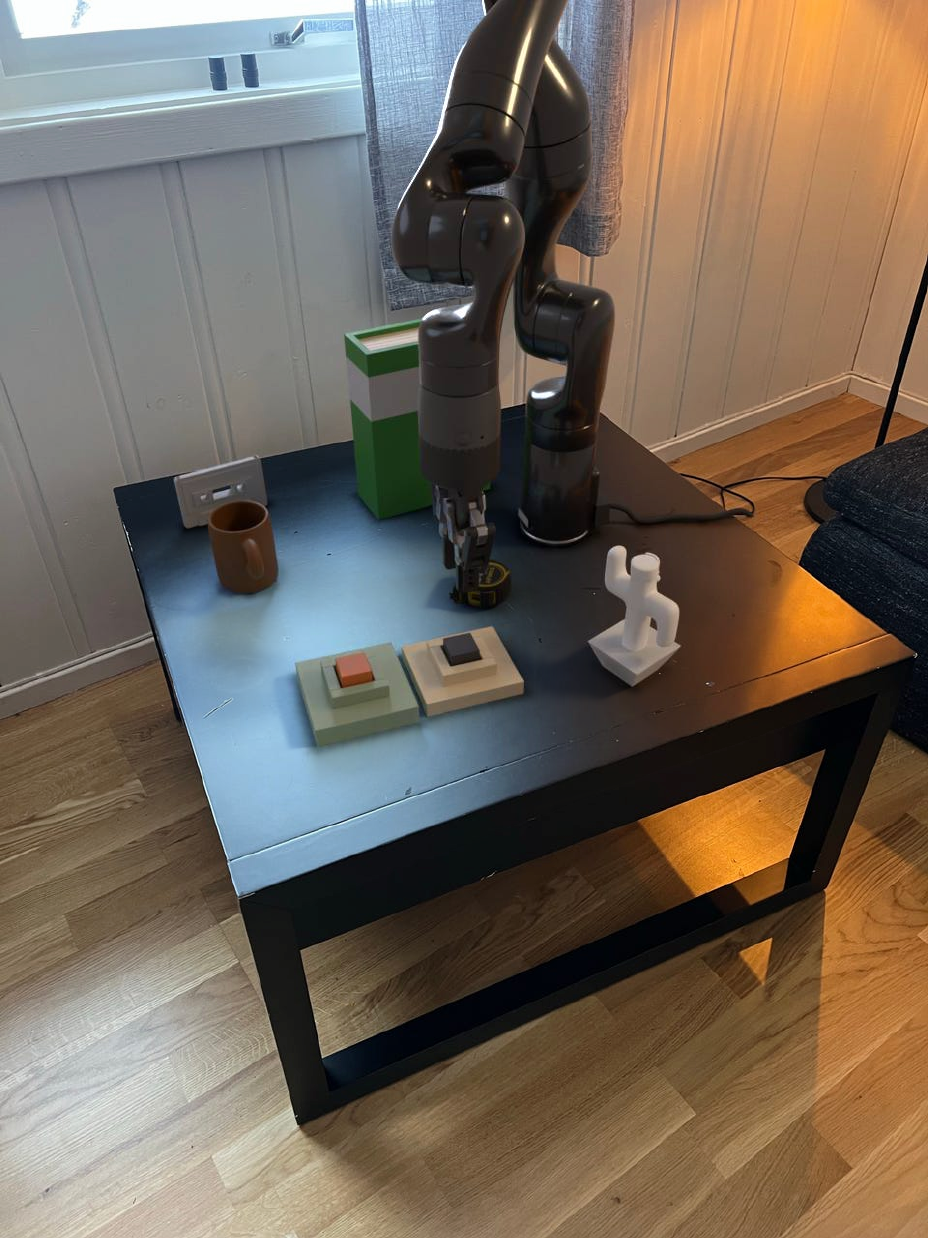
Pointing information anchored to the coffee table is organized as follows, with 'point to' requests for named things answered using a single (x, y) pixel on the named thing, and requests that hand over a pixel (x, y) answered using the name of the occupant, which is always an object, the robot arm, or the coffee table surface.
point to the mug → (243, 546)
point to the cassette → (217, 477)
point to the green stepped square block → (356, 696)
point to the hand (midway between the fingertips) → (460, 577)
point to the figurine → (637, 619)
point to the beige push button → (461, 673)
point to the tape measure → (487, 587)
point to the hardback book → (387, 418)
